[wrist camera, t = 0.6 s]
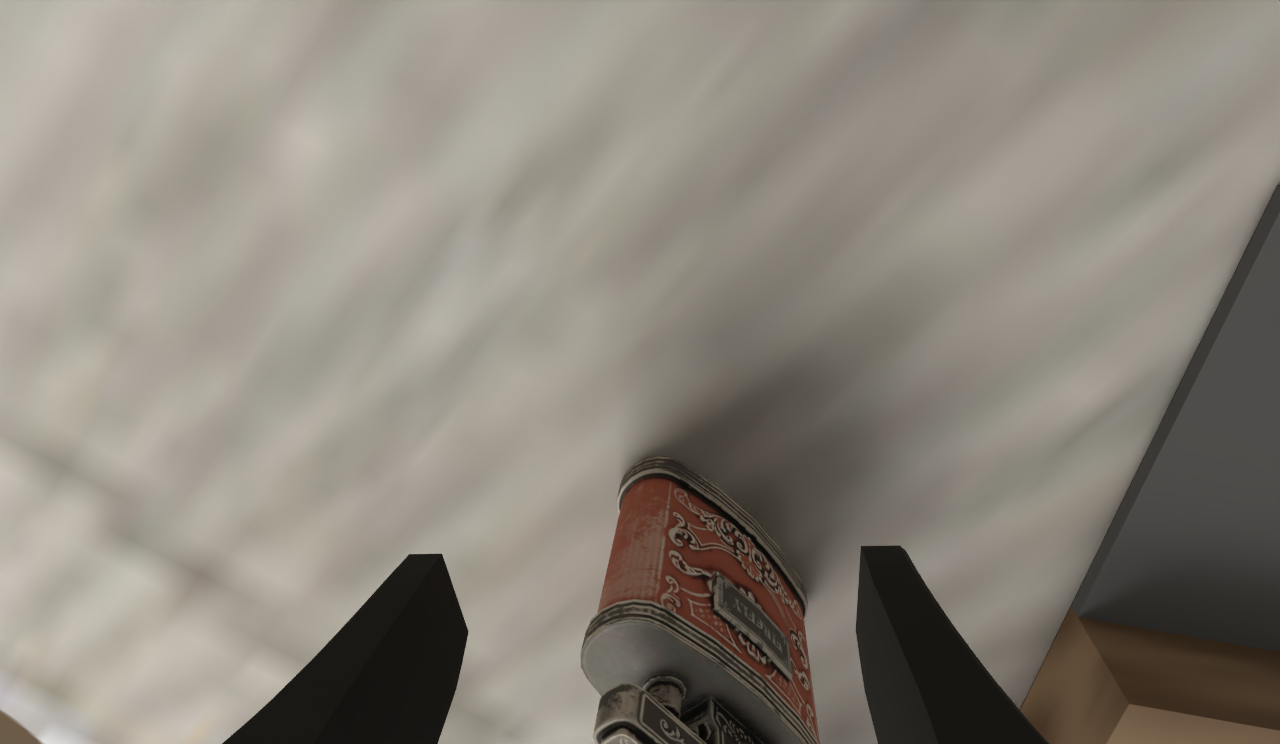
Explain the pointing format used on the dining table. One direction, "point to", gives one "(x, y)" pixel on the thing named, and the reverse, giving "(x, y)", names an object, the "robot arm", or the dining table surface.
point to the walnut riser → (1152, 688)
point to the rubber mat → (1209, 482)
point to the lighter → (697, 622)
